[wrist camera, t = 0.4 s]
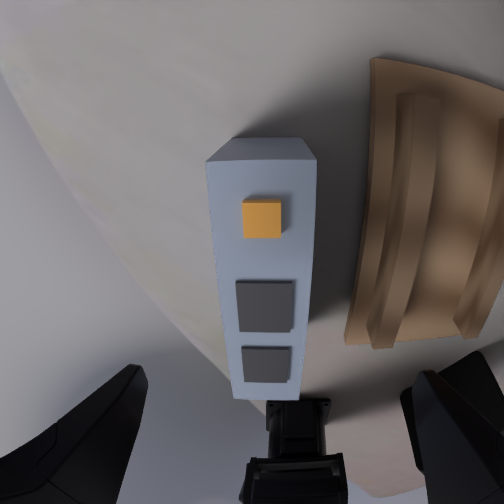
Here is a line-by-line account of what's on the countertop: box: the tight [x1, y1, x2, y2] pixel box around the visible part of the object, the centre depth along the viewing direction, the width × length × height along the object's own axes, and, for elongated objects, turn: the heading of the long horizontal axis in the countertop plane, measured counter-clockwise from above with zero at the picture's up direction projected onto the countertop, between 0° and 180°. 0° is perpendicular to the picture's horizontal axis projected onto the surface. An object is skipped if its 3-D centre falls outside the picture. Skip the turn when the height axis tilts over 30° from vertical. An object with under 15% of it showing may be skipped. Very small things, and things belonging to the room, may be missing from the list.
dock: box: [344, 58, 504, 349], centre depth 16 cm, size 20×12×4 cm, turn 2°
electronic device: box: [400, 351, 504, 475], centre depth 21 cm, size 4×10×10 cm, turn 127°
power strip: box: [205, 137, 317, 400], centre depth 17 cm, size 14×4×7 cm, turn 2°
